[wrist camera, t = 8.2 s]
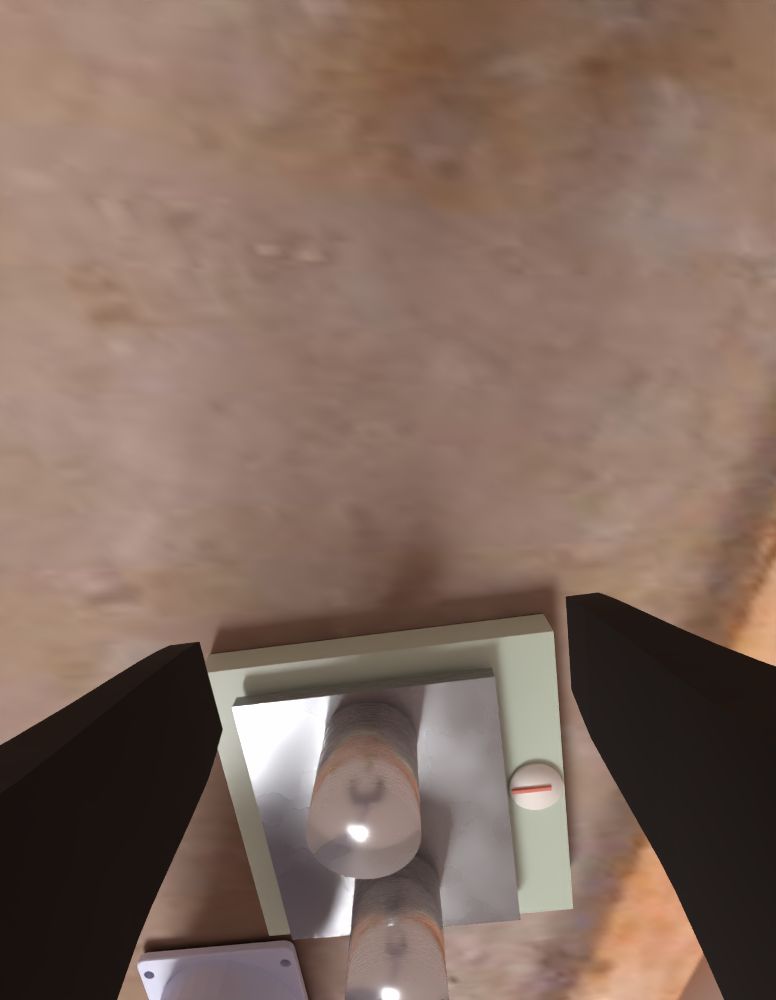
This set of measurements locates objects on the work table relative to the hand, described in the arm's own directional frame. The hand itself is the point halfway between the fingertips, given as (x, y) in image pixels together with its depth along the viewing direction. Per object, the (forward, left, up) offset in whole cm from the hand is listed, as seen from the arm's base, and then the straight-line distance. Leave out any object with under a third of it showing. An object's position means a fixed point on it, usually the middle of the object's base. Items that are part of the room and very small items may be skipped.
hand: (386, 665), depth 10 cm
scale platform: (-12, +2, -9) cm, 15 cm away
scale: (-12, +2, -10) cm, 16 cm away
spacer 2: (-16, +2, -8) cm, 17 cm away
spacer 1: (-8, +2, -8) cm, 11 cm away
